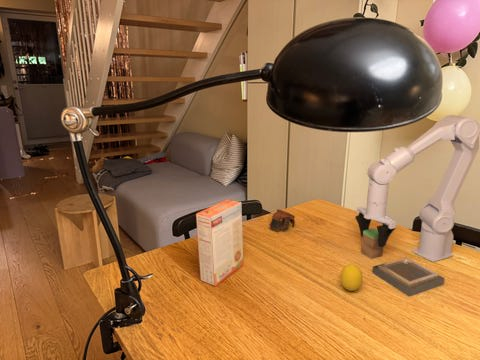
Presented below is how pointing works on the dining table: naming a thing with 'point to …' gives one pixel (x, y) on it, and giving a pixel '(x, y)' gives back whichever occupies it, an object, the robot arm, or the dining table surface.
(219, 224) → the cracker box
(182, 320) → the dining table surface
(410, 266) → the gray square tray
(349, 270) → the lemon
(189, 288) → the dining table surface
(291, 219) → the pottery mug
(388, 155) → the robot arm
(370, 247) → the brown and green block
